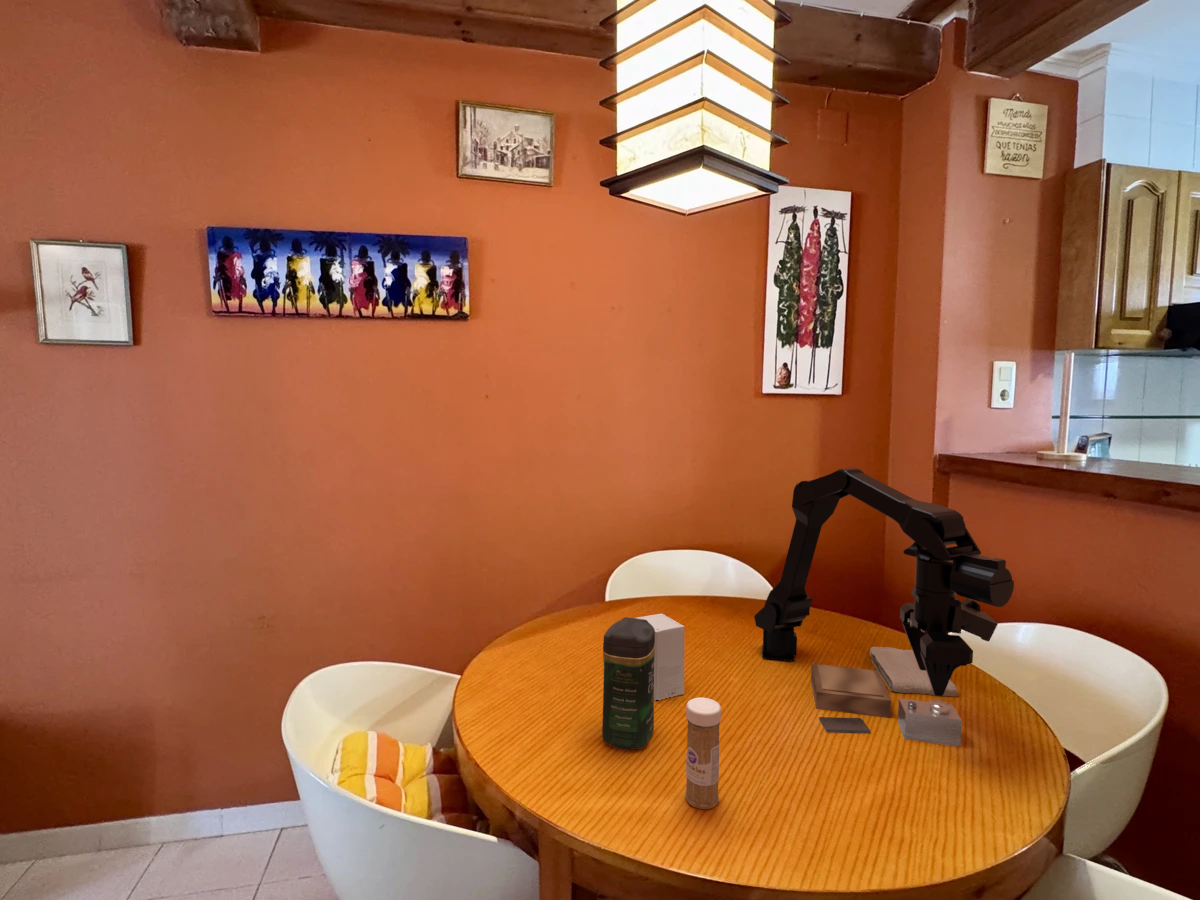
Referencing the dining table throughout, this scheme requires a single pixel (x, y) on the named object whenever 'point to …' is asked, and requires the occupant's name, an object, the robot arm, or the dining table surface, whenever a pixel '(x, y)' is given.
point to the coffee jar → (628, 683)
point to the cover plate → (844, 725)
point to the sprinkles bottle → (702, 752)
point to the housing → (929, 722)
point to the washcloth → (904, 672)
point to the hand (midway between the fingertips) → (930, 682)
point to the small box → (667, 656)
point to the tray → (850, 690)
